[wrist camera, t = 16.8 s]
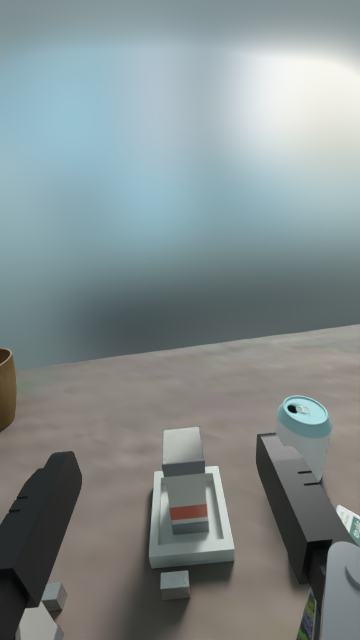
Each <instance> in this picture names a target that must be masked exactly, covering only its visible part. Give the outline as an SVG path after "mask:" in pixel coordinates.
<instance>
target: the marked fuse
mask: <svg viewBox="0 0 360 640" xmlns="http://www.w3.org/2000/svg"><path fill="white" fill-rule="evenodd" d="M162 470H163V476H164V477H165V482H166V488H167V494H168V500H169V509H170V516H171V520H172V531H173V535H180V534H190V533H200V532H209V521H208V511H207V501H206V489H205V474H204V473H205V460H204V454H203V447H202V440H201V434H200V427H199V426H197V427H186V428H176V429H166V430H163V443H162Z"/></svg>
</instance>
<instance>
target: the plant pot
mask: <svg viewBox="0 0 360 640" xmlns="http://www.w3.org/2000/svg"><path fill="white" fill-rule="evenodd" d="M15 409H16V376H15V368H14V362H13V356H12V352H11V350H9V349H6V348H0V431H2V430H3V429H5V428H6V427H7V426H9V425H10V424H11V423H12V421H13V420H14V417H15Z"/></svg>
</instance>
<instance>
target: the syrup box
mask: <svg viewBox="0 0 360 640" xmlns="http://www.w3.org/2000/svg"><path fill="white" fill-rule="evenodd" d="M336 512H337V514H338V515H339V517H340V519H341V520H342V522H343V524H344V525H345V527H346V529H347V530H348V532H349V534H350V535H351V537H352V538H353V539H354V541H355V542H356V543H357V544H358V545H359V546H360V517H359V516H358V515H356V514H354V513H353V512H351V511H349V510H347V509H346V508H344V507H342V506H340V505H338V506H337V509H336ZM315 601H316V599H315V597H314V594H313V592H312V589H311V587H310V591H309V594H308V598H307V602H306V606H305V609H304V613H303V617H302V621H301V624H300V628H299V632H298V635H297V639H296V640H312V632H313V621H314V611H315Z"/></svg>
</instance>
